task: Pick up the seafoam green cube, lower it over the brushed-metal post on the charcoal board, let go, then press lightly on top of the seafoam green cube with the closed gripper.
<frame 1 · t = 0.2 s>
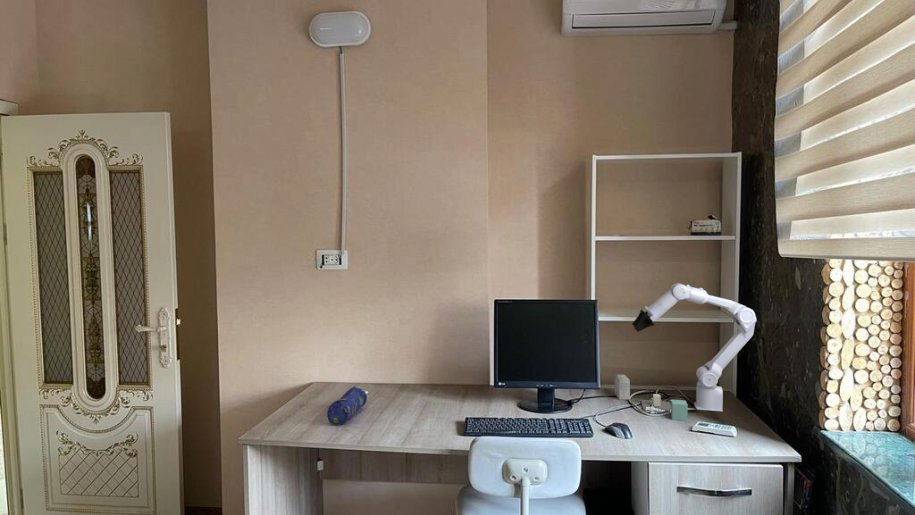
hand: (634, 327, 228), 31 cm above the table, tool tilted 45°, fingers open, 7 cm apart
seafoam green cube: (678, 418, 212), on the table
medicine box: (621, 397, 238), on the table
post board: (656, 407, 225), on the table
pencil case: (347, 417, 216), on the table
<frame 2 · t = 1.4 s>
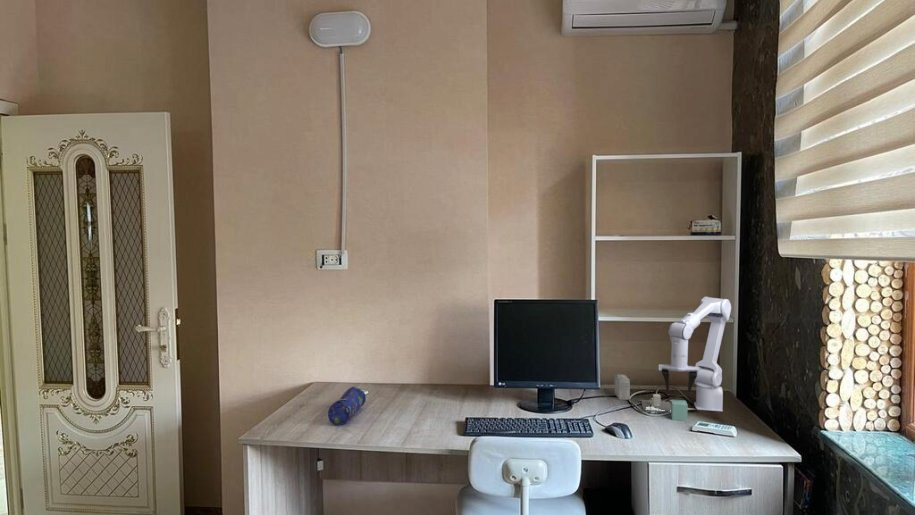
hand: (678, 390, 212), 11 cm above the table, tool pointing down, fingers open, 7 cm apart
nothing on the table moved.
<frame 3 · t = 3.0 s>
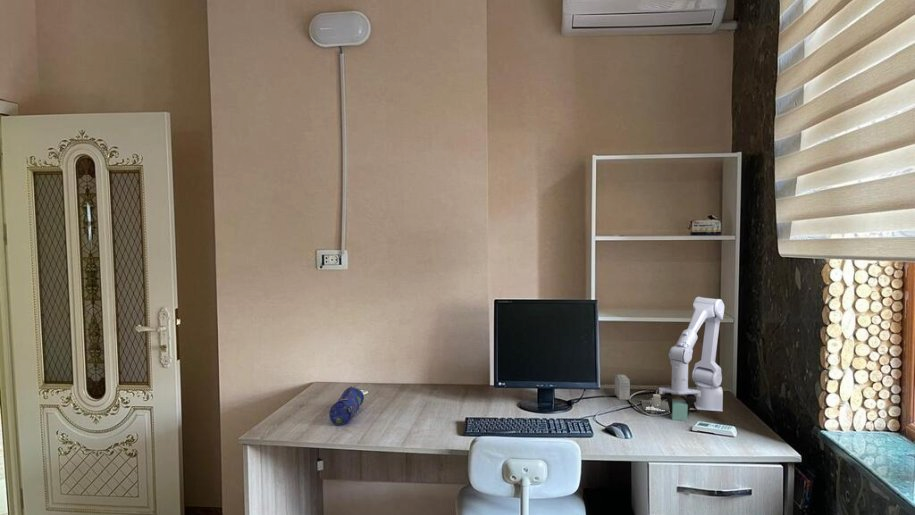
hand: (678, 413, 212), 2 cm above the table, tool pointing down, fingers closed on seafoam green cube, 5 cm apart
seafoam green cube: (678, 418, 212), on the table, touching gripper
everything else where it was.
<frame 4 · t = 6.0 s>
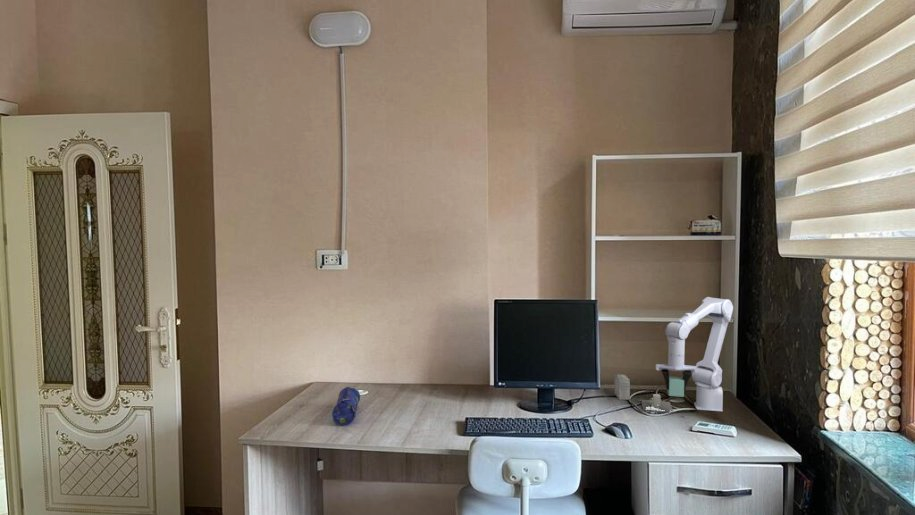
hand: (675, 389, 214), 10 cm above the table, tool pointing down, fingers closed on seafoam green cube, 5 cm apart
seafoam green cube: (675, 394, 214), point 9 cm above the table, touching gripper
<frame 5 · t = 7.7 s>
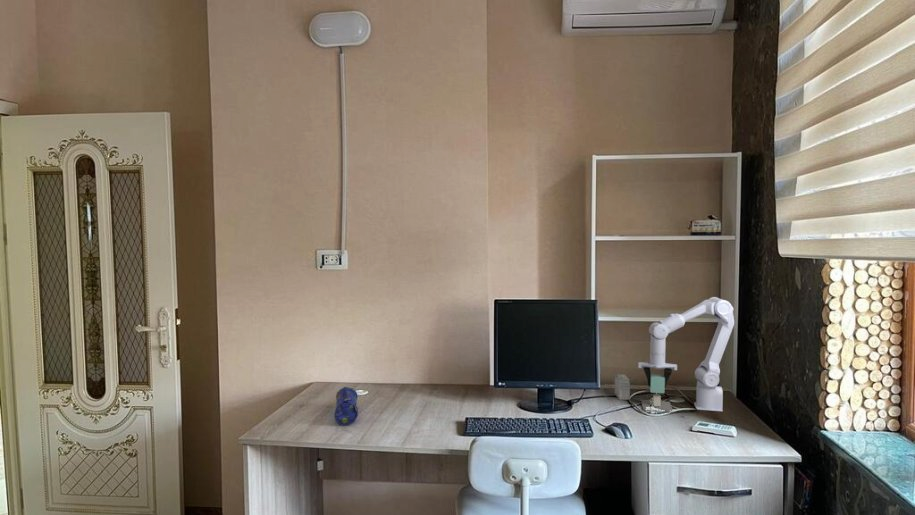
hand: (656, 386, 224), 8 cm above the table, tool pointing down, fingers closed on seafoam green cube, 5 cm apart
seafoam green cube: (656, 390, 224), point 7 cm above the table, touching gripper
when the fingers open (4 cm above the table, at t = 9.2 s): seafoam green cube stays where it is, resting on post board.
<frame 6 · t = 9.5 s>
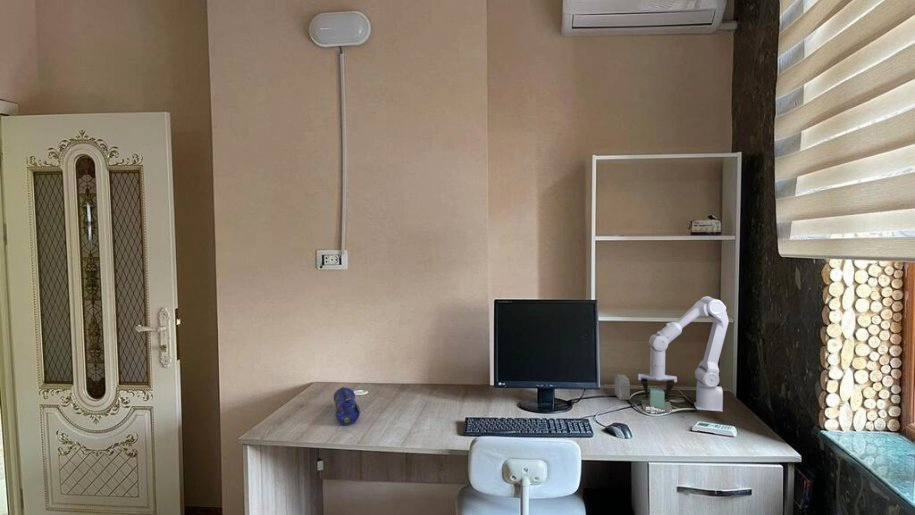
hand: (656, 398, 224), 4 cm above the table, tool pointing down, fingers open, 7 cm apart
seafoam green cube: (656, 405, 225), point 1 cm above the table, touching post board
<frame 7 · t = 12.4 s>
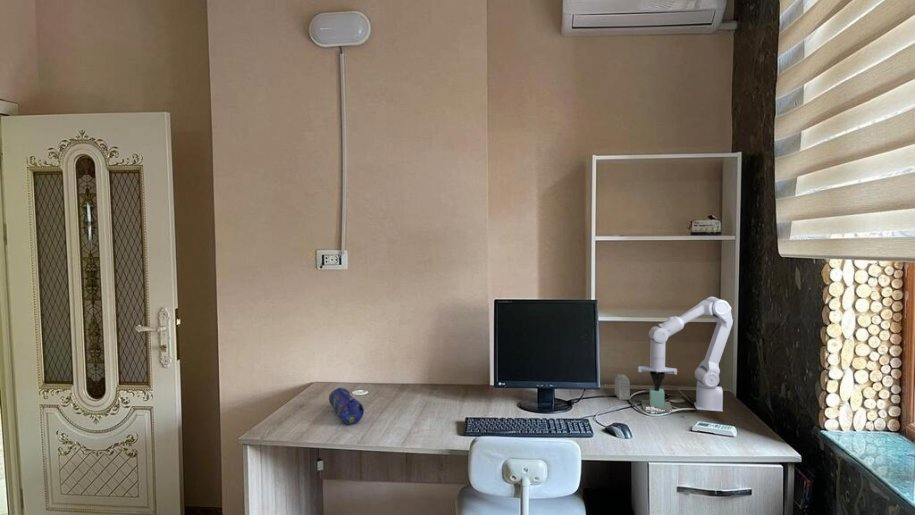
hand: (656, 390, 224), 7 cm above the table, tool pointing down, fingers closed, pressing on seafoam green cube
seafoam green cube: (656, 405, 225), point 1 cm above the table, touching gripper, post board
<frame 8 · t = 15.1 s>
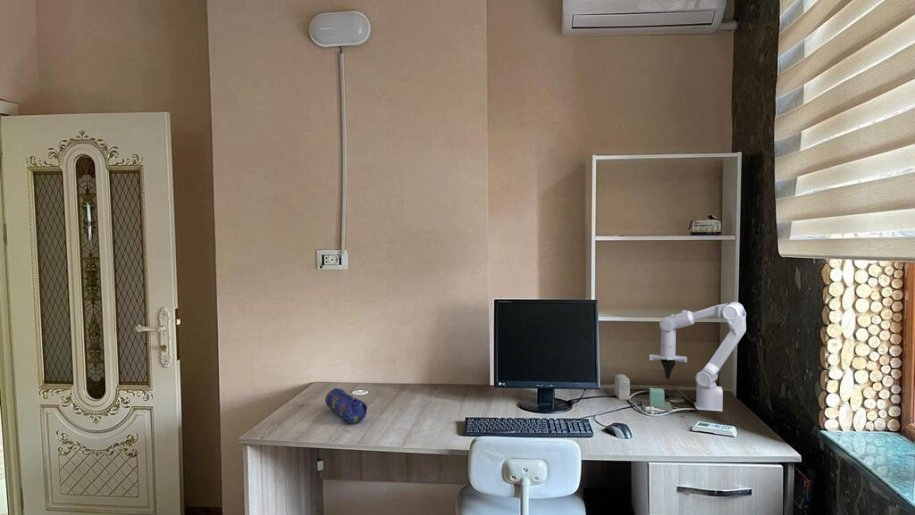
hand: (667, 377, 233), 9 cm above the table, tool pointing down, fingers closed
seafoam green cube: (656, 405, 225), point 1 cm above the table, touching post board
at the end: seafoam green cube 0.0 cm from the post board (horizontally); seafoam green cube point 0.8 cm above the table; the gripper is holding nothing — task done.
